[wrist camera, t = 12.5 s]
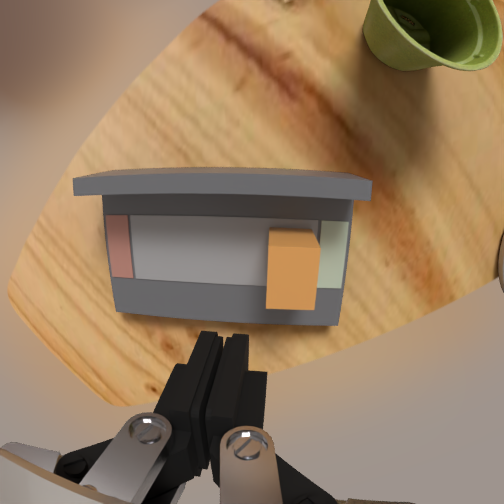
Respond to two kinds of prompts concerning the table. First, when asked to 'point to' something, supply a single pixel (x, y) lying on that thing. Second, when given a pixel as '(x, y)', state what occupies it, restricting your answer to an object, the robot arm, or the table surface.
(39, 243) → the table surface
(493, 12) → the plant pot
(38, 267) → the table surface
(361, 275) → the table surface
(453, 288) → the table surface
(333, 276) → the switch panel
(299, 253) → the handle
